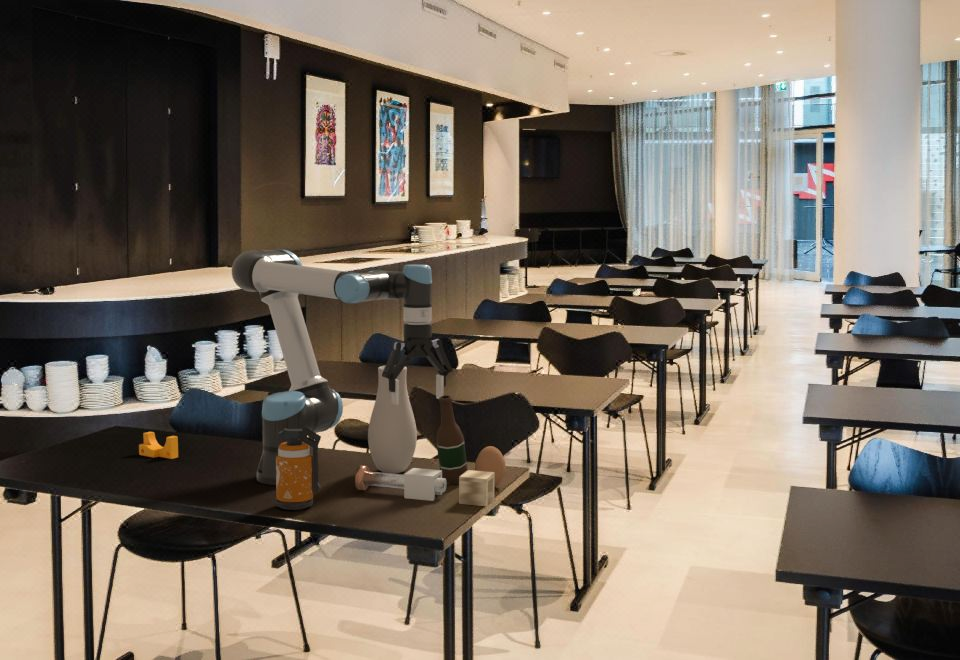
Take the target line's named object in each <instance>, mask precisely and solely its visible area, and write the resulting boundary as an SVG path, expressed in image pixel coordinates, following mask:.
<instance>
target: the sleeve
mask: <svg viewBox="0 0 960 660" xmlns="http://www.w3.org/2000/svg"><path fill="white" fill-rule="evenodd" d="M403 475H404V489H403V492H404V493H403V497H404V499H411V500H412V499H413V500H419V501H420V500H421V501H431V502H433V501H436V496H441V495H443V492H435V478H442V470H440V469H433V468H432V469H430V468H420V467H412V468H410V469H409V470H408V471H405V473H403Z"/></svg>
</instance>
